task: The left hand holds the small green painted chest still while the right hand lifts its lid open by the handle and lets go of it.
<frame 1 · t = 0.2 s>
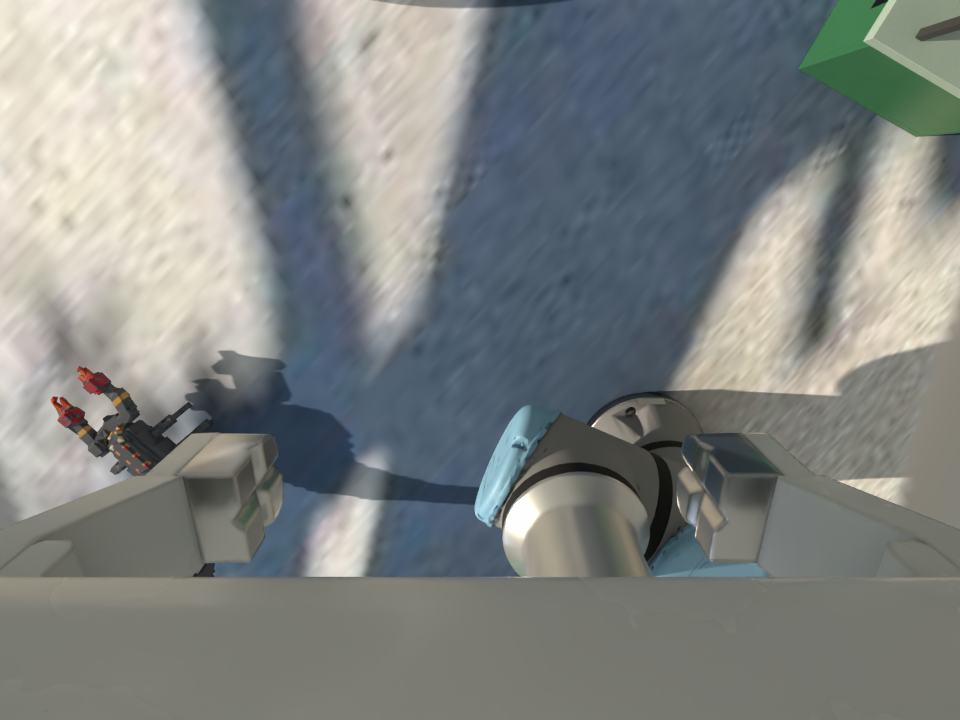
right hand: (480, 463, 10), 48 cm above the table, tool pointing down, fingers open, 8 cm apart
toy: (170, 441, 64), on the table
chest: (890, 52, 49), on the table
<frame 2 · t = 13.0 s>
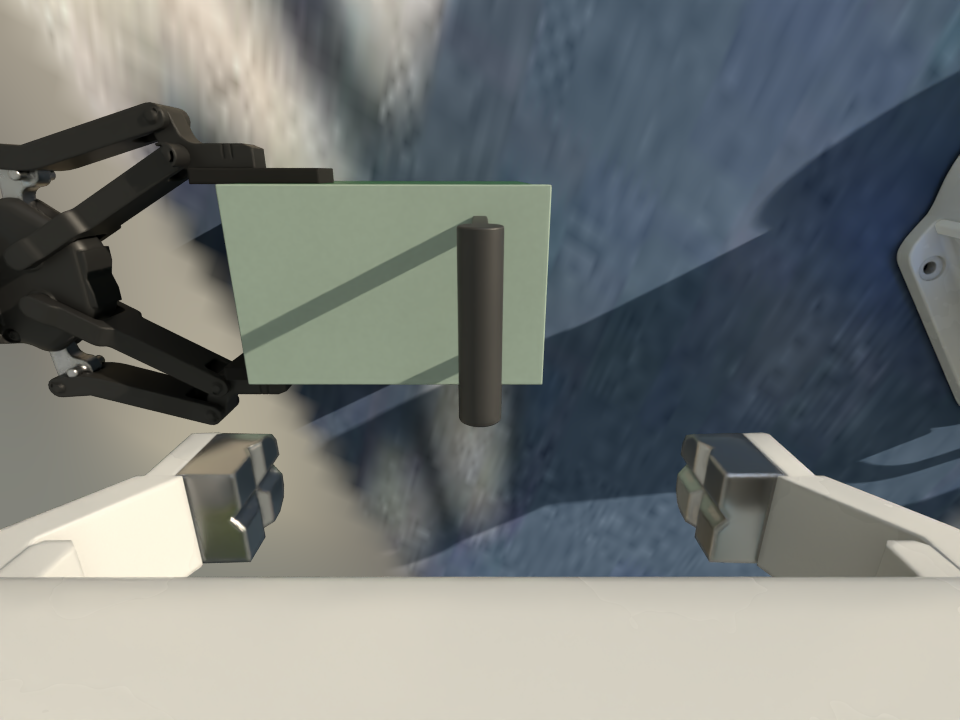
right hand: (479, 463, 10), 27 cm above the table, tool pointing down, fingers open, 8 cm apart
left hand: (336, 276, 28), fingers closed on chest, 10 cm apart
lid: (378, 306, 22), point 14 cm above the table, hinge at 0.0°
chest: (410, 257, 35), on the table, touching left hand
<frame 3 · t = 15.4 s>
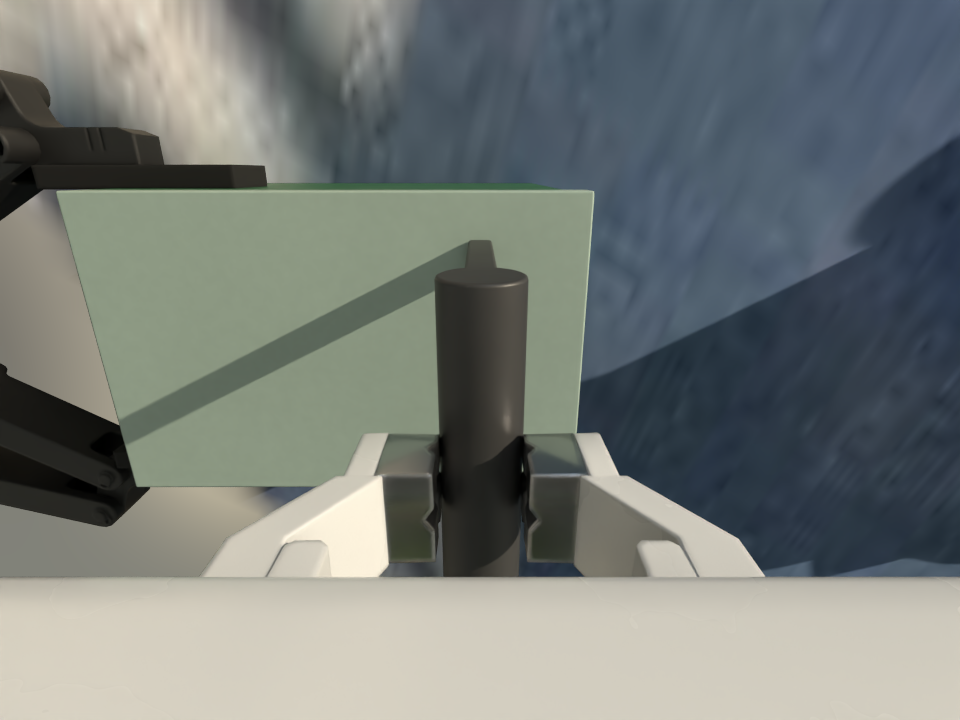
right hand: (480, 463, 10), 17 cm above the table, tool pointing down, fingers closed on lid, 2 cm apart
left hand: (272, 322, 20), fingers closed on chest, 10 cm apart
lid: (312, 393, 13), point 14 cm above the table, hinge at -0.1°, touching right hand
chest: (388, 284, 26), on the table, touching left hand
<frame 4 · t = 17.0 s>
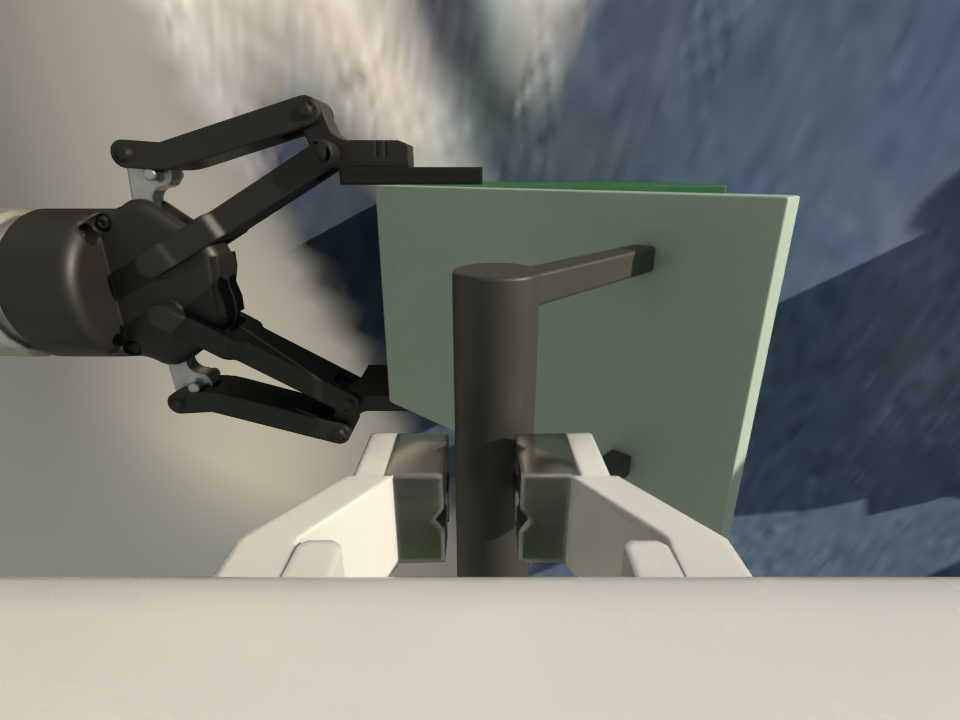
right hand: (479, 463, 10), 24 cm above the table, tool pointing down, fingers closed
left hand: (482, 285, 26), fingers closed on chest, 10 cm apart
lid: (456, 358, 16), point 18 cm above the table, hinge at 42.1°, touching right hand
chest: (532, 262, 33), on the table, touching left hand
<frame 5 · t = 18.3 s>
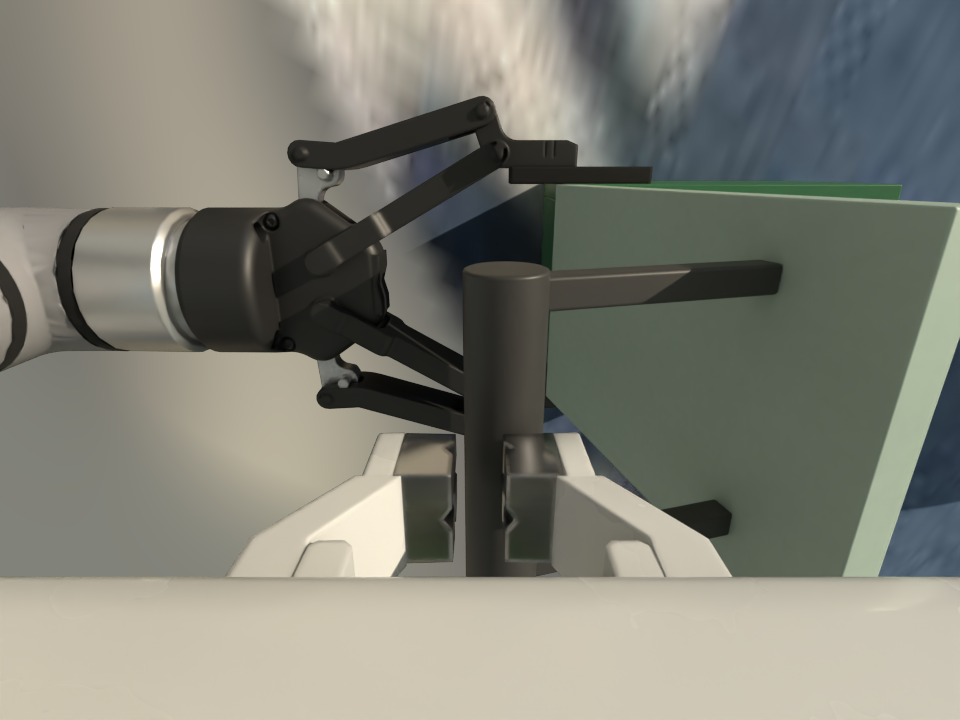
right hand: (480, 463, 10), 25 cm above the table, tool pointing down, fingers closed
left hand: (632, 283, 27), fingers closed on chest, 10 cm apart
lid: (558, 359, 16), point 19 cm above the table, hinge at 73.0°, touching right hand
chest: (653, 261, 33), on the table, touching left hand
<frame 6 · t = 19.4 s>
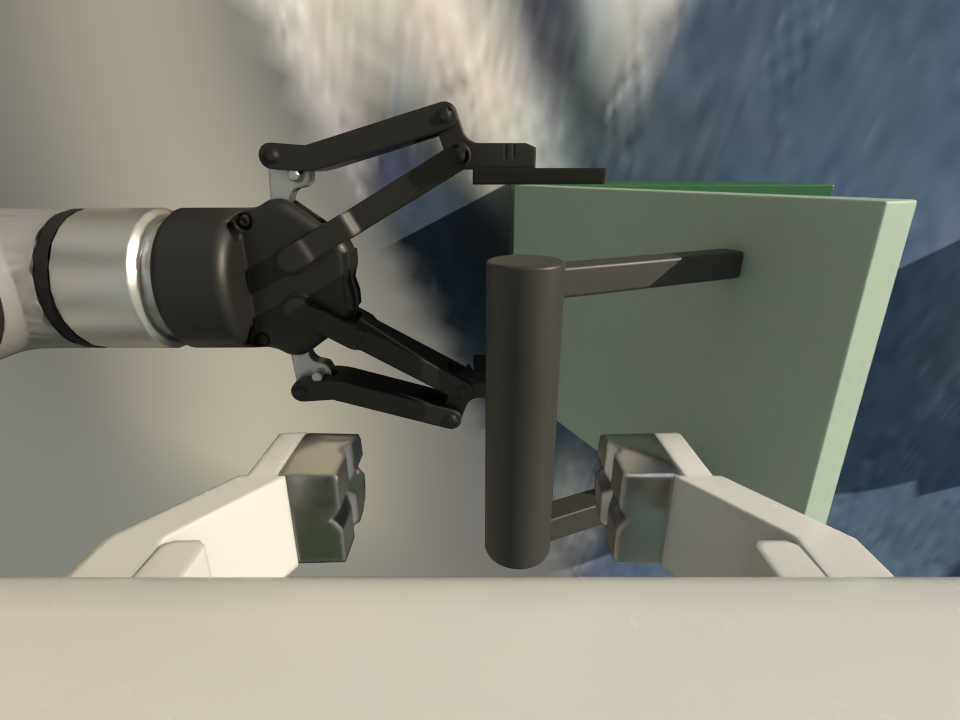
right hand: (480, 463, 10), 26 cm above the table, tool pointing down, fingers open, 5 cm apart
left hand: (591, 278, 28), fingers closed on chest, 10 cm apart
lid: (541, 346, 17), point 19 cm above the table, hinge at 65.8°
chest: (616, 257, 35), on the table, touching left hand
when the left hand's fingers open (7 cm above the table, at t = 22.5 s): chest stays where it is, on the table.
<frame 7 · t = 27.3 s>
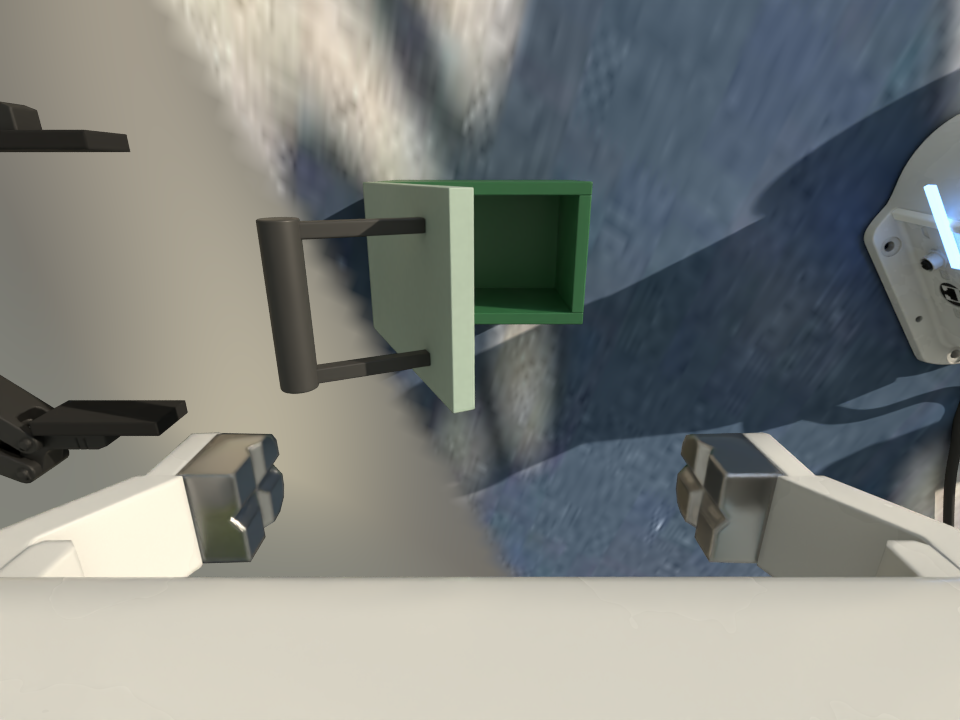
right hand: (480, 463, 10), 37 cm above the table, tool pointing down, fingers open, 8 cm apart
lid: (345, 282, 27), point 19 cm above the table, hinge at 65.3°
chest: (482, 239, 45), on the table
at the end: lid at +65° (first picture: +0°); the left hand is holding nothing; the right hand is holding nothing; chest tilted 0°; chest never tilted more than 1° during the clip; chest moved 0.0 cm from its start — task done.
